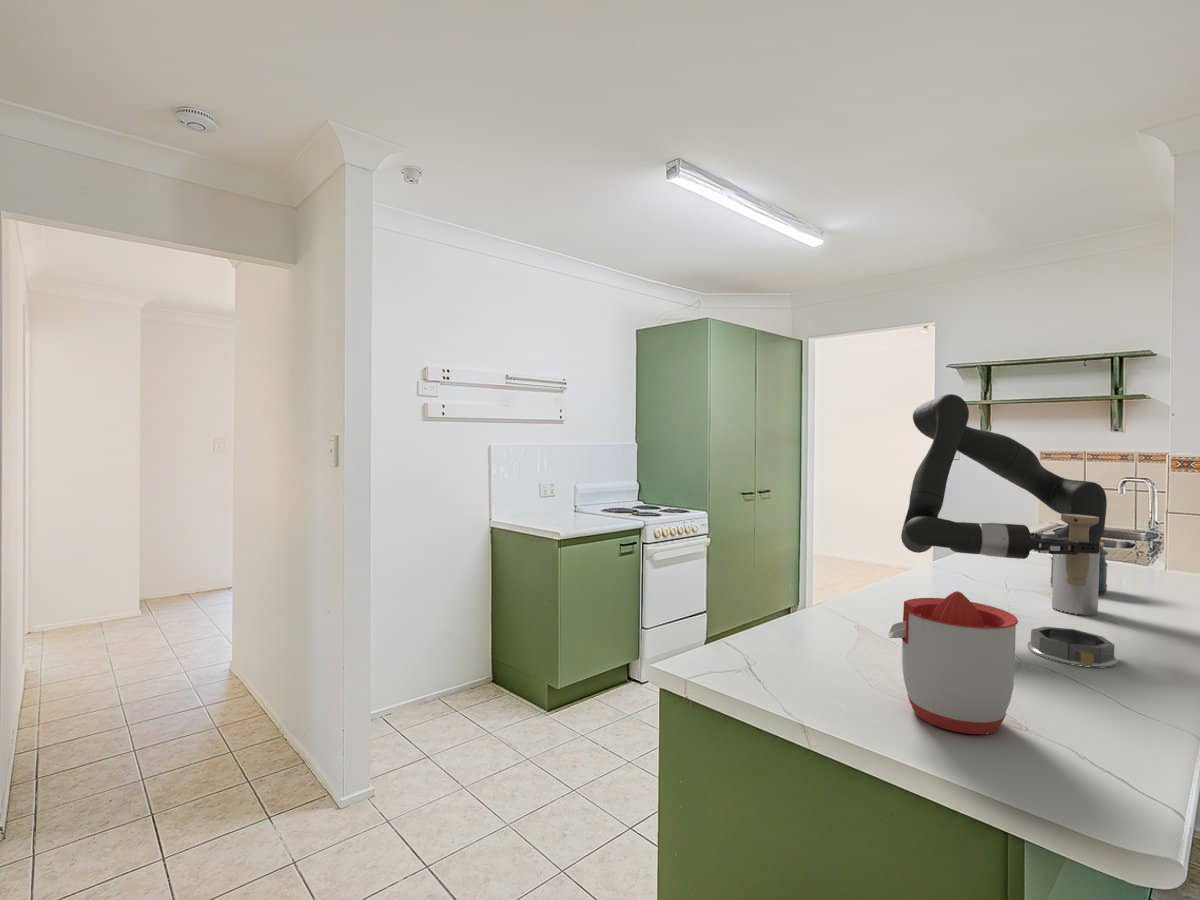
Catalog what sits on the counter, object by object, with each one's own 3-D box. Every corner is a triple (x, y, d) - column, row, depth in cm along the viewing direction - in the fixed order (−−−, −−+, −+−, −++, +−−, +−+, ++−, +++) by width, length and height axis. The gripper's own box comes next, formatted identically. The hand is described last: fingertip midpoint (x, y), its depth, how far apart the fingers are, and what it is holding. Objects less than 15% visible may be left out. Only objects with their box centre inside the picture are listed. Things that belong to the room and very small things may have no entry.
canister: (1066, 594, 171) (1067, 532, 171) (1040, 583, 184) (1042, 525, 184) (1118, 597, 169) (1120, 534, 169) (1088, 585, 182) (1090, 527, 182)
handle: (1090, 589, 128) (1094, 518, 127) (1054, 582, 133) (1057, 514, 133) (1098, 586, 131) (1102, 517, 130) (1062, 580, 136) (1065, 513, 135)
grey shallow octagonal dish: (1017, 638, 133) (1017, 622, 133) (1096, 646, 128) (1097, 629, 128) (1042, 662, 119) (1043, 644, 119) (1132, 672, 114) (1133, 653, 114)
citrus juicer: (884, 689, 106) (887, 574, 105) (1002, 707, 99) (1005, 585, 99) (889, 728, 91) (892, 596, 91) (1027, 753, 85) (1031, 610, 84)
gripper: (1012, 528, 130) (1110, 534, 124) (993, 519, 143) (1081, 524, 137) (1010, 563, 130) (1108, 571, 124) (991, 551, 143) (1079, 558, 138)
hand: (1093, 546), depth 131 cm, fingers closed on handle, 3 cm apart
